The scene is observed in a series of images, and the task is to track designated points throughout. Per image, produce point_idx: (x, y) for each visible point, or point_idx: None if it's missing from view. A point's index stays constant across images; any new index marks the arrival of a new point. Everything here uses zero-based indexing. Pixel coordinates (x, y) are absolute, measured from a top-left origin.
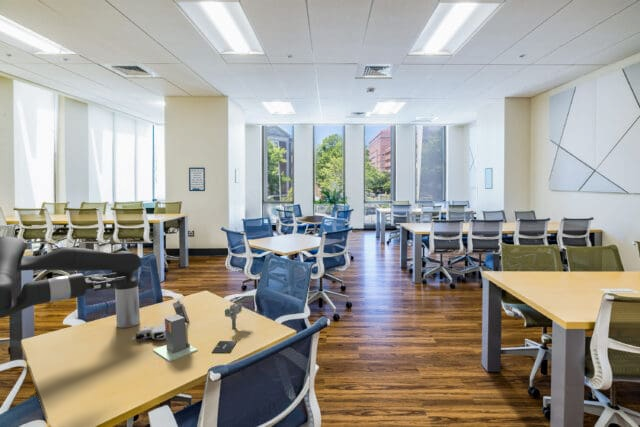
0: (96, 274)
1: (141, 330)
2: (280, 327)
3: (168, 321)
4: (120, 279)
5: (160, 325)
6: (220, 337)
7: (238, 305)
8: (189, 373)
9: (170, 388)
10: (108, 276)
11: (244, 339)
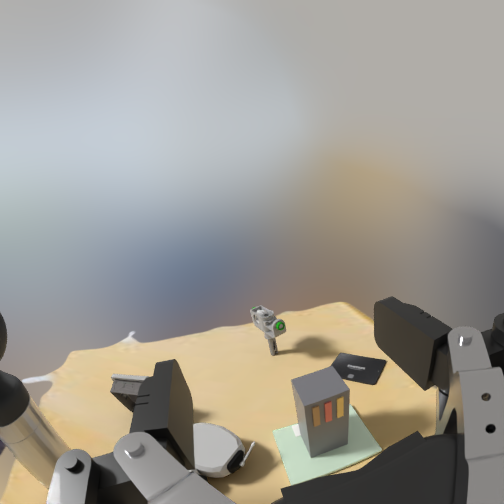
0: (68, 487)
1: None
2: (315, 309)
3: (329, 400)
4: (433, 319)
5: None
6: (304, 372)
7: (267, 309)
8: None
9: None
10: (177, 425)
11: (336, 344)
